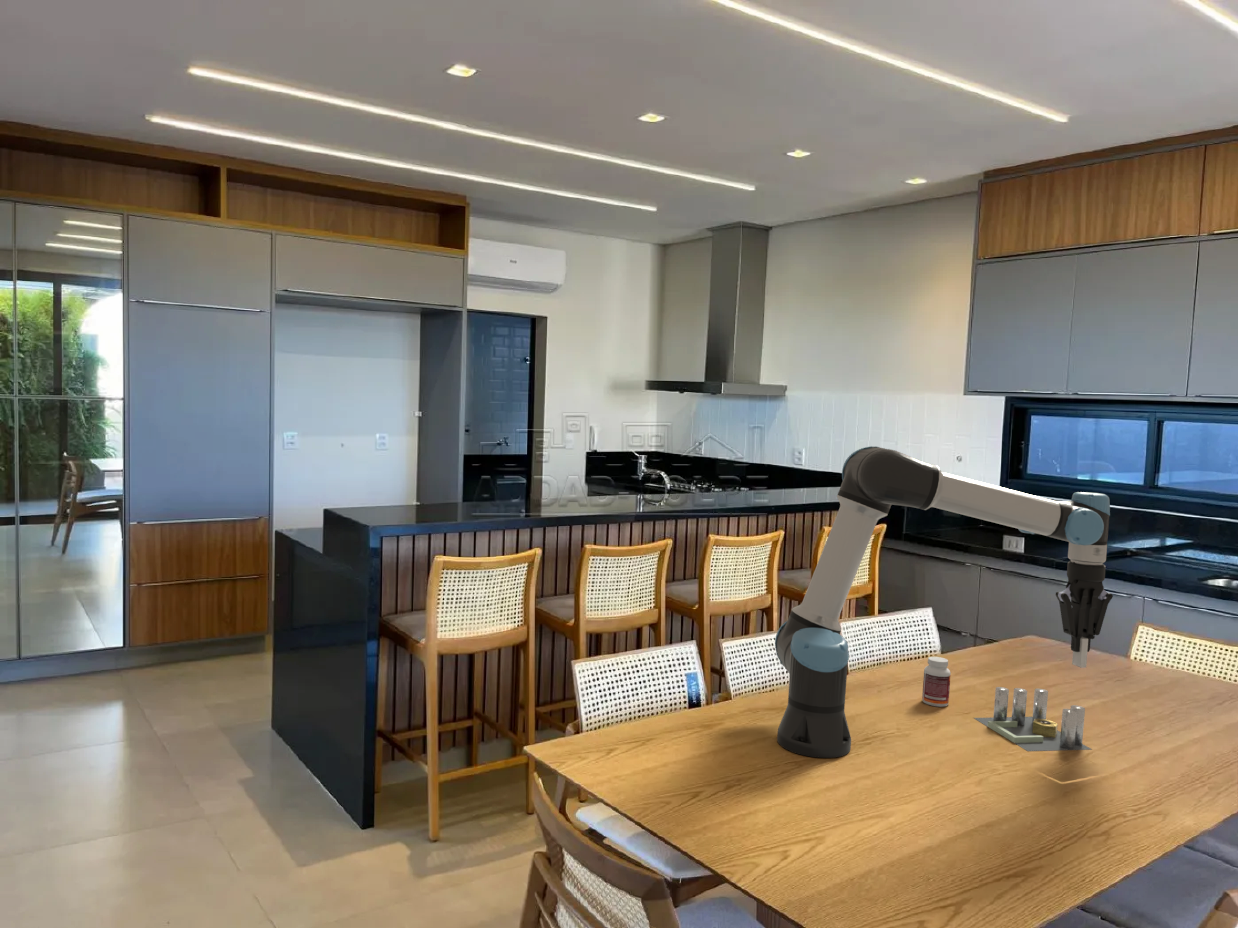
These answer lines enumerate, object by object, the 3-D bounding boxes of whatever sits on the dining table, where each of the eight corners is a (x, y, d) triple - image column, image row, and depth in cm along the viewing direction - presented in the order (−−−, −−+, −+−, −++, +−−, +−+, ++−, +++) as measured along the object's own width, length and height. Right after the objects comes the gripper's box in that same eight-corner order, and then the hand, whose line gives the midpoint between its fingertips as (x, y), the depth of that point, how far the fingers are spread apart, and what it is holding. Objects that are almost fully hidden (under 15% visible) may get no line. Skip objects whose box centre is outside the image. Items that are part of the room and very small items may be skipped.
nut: (1047, 738, 196) (1048, 727, 195) (1027, 730, 200) (1028, 719, 200) (1062, 736, 198) (1063, 725, 197) (1041, 728, 202) (1042, 717, 202)
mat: (1027, 752, 188) (1027, 750, 188) (973, 719, 207) (973, 717, 207) (1092, 751, 190) (1092, 749, 190) (1032, 718, 210) (1032, 716, 210)
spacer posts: (1040, 750, 188) (1043, 713, 188) (990, 720, 206) (993, 686, 205) (1091, 749, 191) (1094, 712, 190) (1037, 719, 208) (1040, 686, 207)
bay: (1014, 742, 192) (1014, 737, 192) (987, 726, 202) (987, 721, 202) (1043, 741, 193) (1043, 736, 193) (1015, 725, 203) (1015, 720, 203)
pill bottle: (953, 707, 215) (956, 662, 215) (929, 707, 214) (932, 662, 214) (940, 699, 221) (943, 655, 221) (917, 698, 221) (920, 655, 220)
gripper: (1072, 564, 193) (1064, 671, 194) (1124, 565, 195) (1116, 670, 197) (1049, 558, 200) (1042, 661, 202) (1100, 559, 203) (1092, 660, 204)
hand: (1079, 665), depth 199 cm, fingers closed
